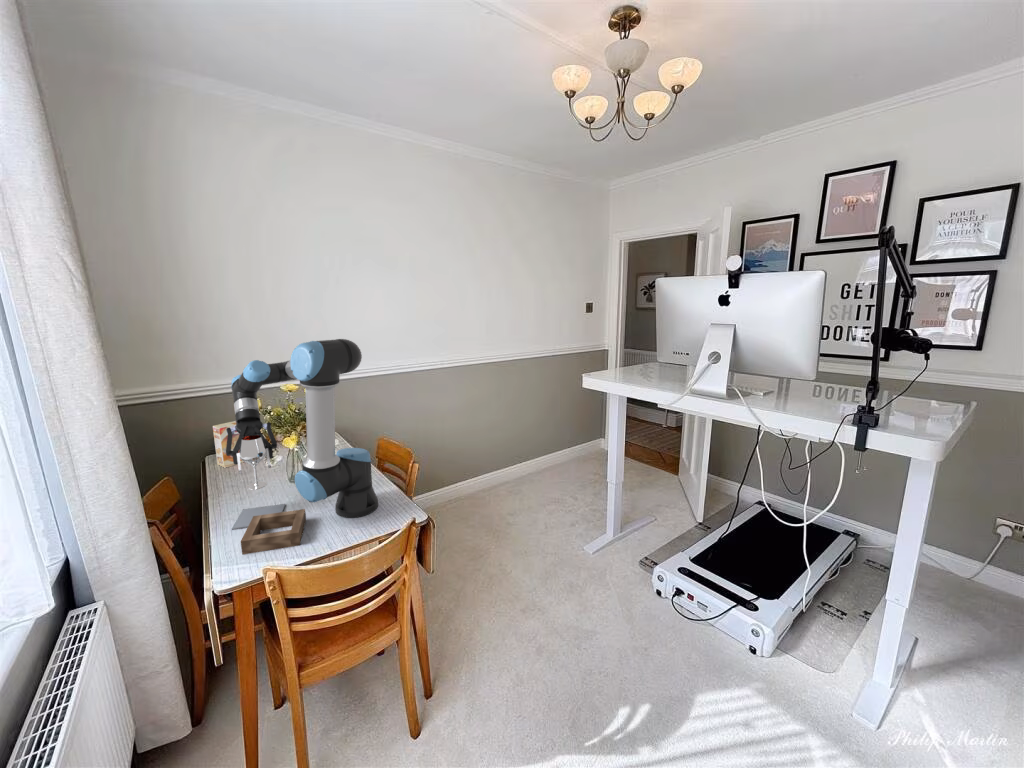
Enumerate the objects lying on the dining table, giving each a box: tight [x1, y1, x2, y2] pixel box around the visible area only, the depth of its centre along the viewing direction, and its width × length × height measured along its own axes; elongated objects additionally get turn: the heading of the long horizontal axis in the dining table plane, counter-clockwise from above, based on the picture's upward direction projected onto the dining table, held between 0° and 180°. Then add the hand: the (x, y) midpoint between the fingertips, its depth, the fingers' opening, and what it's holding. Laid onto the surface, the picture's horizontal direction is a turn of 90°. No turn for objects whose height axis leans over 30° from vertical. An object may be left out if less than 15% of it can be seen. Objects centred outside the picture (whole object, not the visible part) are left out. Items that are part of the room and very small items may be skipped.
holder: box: [240, 508, 307, 555], centre depth 137 cm, size 16×16×4 cm
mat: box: [231, 503, 286, 531], centre depth 150 cm, size 14×14×1 cm
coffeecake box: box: [212, 420, 245, 469], centre depth 198 cm, size 15×7×20 cm, turn 149°
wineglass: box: [239, 435, 268, 491], centre depth 145 cm, size 8×8×18 cm
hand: (255, 469), depth 143 cm, fingers closed on wineglass, 8 cm apart
